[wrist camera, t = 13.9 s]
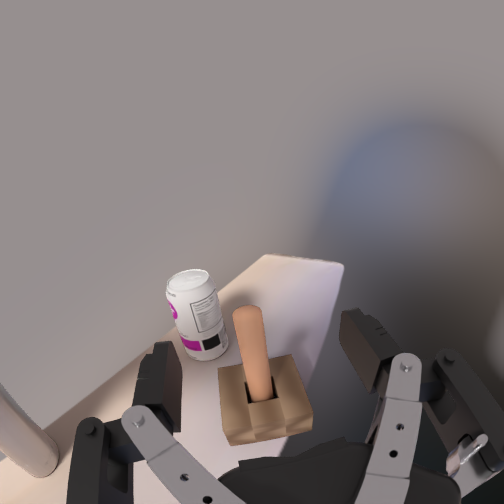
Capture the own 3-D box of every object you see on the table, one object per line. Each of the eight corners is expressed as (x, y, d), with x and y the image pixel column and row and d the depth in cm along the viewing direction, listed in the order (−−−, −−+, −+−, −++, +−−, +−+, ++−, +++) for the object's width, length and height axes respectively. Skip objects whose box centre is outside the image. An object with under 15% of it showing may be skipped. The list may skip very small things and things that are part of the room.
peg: (256, 419, 33) (233, 325, 26) (252, 403, 36) (231, 308, 29) (277, 415, 33) (264, 319, 26) (272, 400, 36) (259, 303, 29)
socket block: (230, 446, 29) (222, 429, 27) (224, 388, 39) (217, 368, 37) (311, 429, 30) (313, 411, 28) (292, 375, 40) (291, 354, 38)
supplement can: (185, 365, 44) (159, 296, 39) (188, 337, 52) (167, 271, 46) (230, 360, 45) (212, 288, 39) (227, 331, 52) (212, 264, 47)
